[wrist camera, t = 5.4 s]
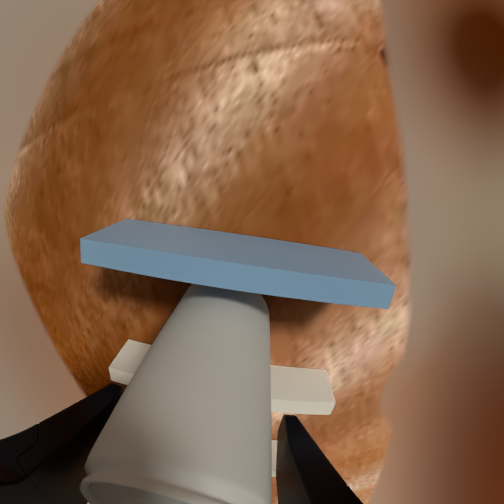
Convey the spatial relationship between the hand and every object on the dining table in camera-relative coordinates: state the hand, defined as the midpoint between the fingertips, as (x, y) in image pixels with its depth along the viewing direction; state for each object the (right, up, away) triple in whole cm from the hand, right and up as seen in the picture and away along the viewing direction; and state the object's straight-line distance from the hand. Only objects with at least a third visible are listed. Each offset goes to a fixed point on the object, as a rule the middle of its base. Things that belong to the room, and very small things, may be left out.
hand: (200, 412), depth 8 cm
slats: (0, -2, +8) cm, 8 cm away
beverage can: (0, +2, +7) cm, 8 cm away
